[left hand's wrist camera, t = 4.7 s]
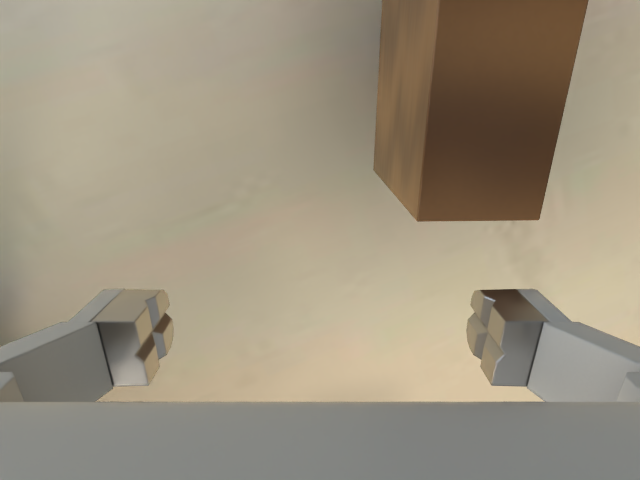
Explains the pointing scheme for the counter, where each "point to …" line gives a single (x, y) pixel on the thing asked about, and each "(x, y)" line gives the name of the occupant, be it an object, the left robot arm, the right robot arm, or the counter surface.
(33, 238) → the counter surface
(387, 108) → the box
